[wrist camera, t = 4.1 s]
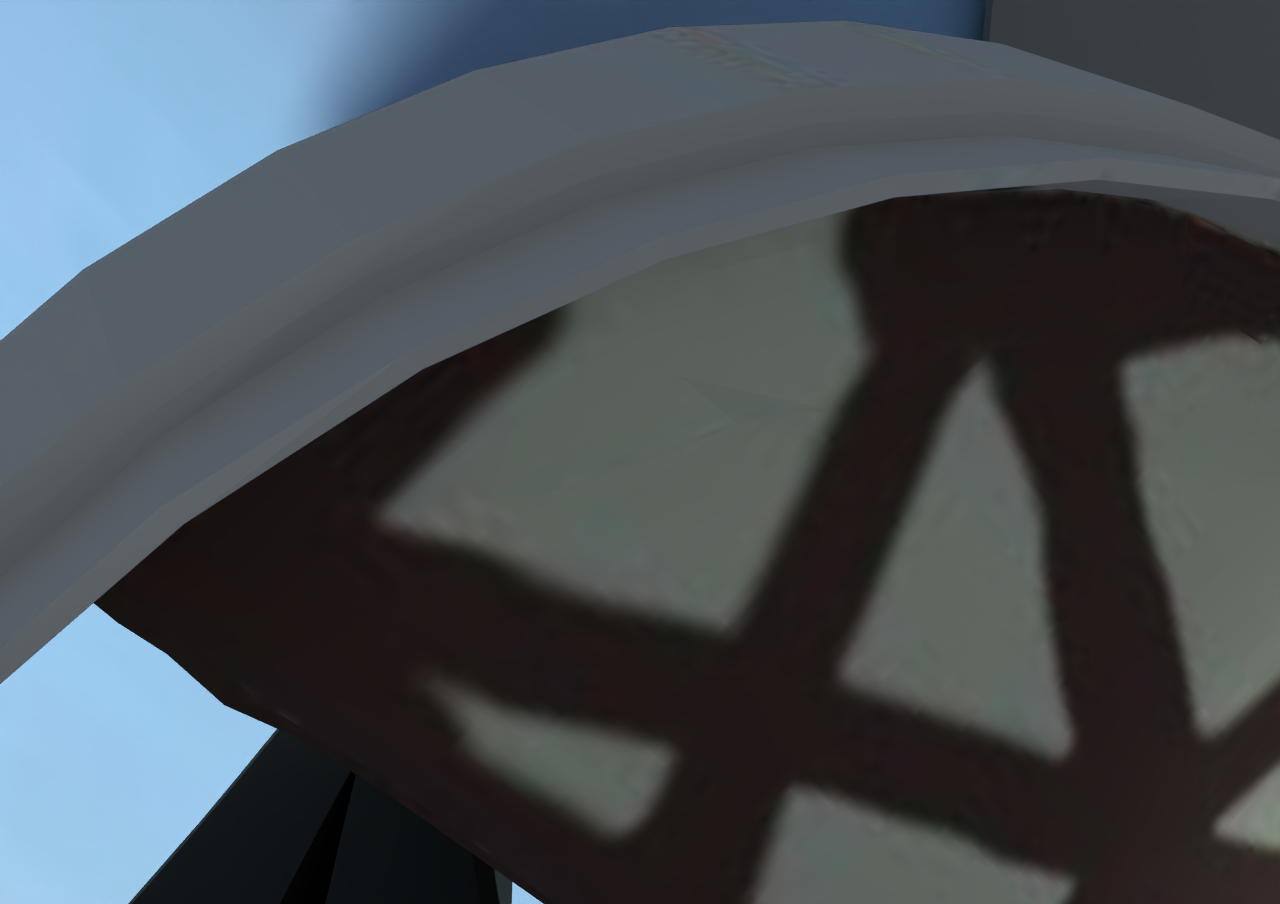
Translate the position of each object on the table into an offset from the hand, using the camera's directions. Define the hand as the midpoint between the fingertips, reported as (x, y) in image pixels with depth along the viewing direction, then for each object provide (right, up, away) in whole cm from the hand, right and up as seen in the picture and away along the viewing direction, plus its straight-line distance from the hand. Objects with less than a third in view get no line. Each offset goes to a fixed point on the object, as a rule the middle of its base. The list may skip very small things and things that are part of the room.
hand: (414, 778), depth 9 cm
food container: (+2, +3, +6) cm, 7 cm away
